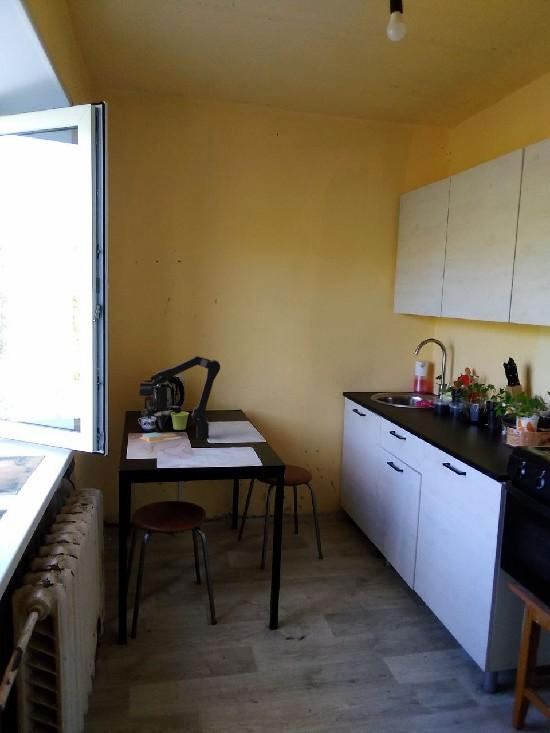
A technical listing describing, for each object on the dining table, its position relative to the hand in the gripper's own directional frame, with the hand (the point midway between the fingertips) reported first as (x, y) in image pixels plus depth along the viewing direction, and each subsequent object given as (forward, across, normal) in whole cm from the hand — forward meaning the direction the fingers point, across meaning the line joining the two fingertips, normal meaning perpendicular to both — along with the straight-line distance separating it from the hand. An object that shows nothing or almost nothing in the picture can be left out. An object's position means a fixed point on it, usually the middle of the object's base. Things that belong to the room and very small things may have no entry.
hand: (161, 428), depth 263 cm
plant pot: (+6, -17, -12) cm, 21 cm away
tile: (+4, +1, 0) cm, 4 cm away
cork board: (+5, 0, 0) cm, 5 cm away
